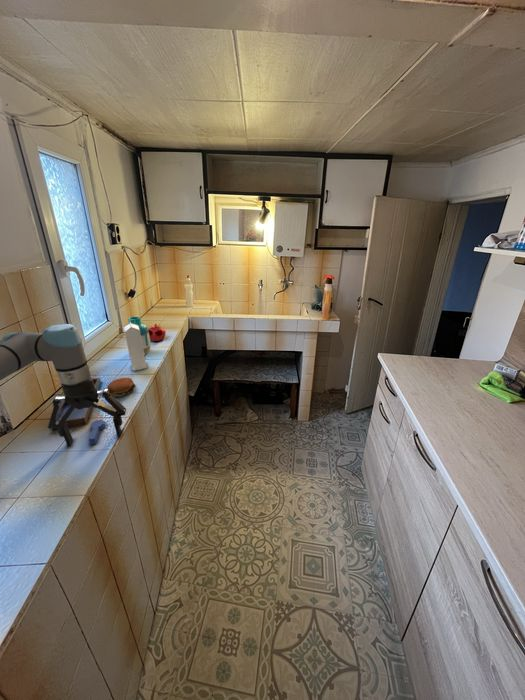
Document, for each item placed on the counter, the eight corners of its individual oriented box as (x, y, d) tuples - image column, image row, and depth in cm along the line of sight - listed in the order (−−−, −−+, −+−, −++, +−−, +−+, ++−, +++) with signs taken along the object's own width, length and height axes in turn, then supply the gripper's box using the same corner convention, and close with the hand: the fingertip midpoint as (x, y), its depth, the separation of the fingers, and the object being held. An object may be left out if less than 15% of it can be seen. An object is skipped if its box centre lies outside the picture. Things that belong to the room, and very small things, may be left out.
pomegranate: (151, 336, 165) (149, 321, 161) (168, 336, 165) (166, 321, 161) (145, 342, 156) (142, 326, 152) (163, 342, 156) (160, 326, 152)
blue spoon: (85, 445, 85) (84, 440, 84) (92, 424, 93) (91, 420, 92) (100, 442, 86) (99, 437, 85) (106, 422, 94) (104, 417, 94)
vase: (126, 358, 138) (118, 321, 130) (133, 349, 148) (126, 314, 140) (149, 357, 139) (142, 320, 131) (154, 348, 148) (148, 314, 140)
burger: (103, 395, 109) (100, 385, 107) (121, 383, 117) (118, 373, 115) (124, 400, 106) (121, 389, 104) (140, 387, 114) (138, 377, 112)
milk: (145, 363, 134) (137, 318, 125) (146, 368, 129) (138, 322, 120) (131, 365, 131) (122, 320, 122) (132, 371, 126) (123, 324, 117)
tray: (52, 429, 91) (50, 423, 90) (75, 386, 115) (73, 381, 114) (86, 423, 94) (84, 417, 93) (101, 382, 117) (99, 377, 116)
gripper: (16, 394, 72) (44, 456, 80) (123, 378, 79) (137, 437, 87) (28, 380, 78) (52, 439, 87) (126, 366, 85) (139, 422, 94)
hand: (95, 438), depth 87 cm, fingers open, 13 cm apart
